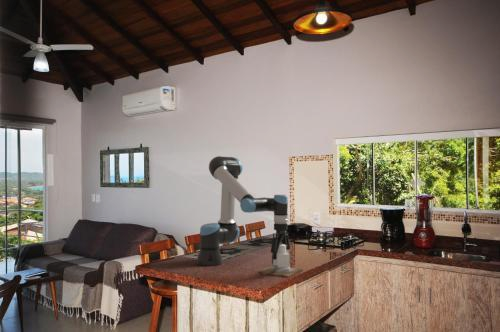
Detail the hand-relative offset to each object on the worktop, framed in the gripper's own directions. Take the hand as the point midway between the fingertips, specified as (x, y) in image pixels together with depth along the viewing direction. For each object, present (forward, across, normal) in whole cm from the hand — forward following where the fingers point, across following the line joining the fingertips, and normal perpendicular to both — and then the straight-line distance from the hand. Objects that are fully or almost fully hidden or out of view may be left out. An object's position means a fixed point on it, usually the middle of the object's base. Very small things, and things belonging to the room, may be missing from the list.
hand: (280, 263), depth 200 cm
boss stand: (+5, 0, 0) cm, 5 cm away
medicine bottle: (+2, 0, 0) cm, 2 cm away
